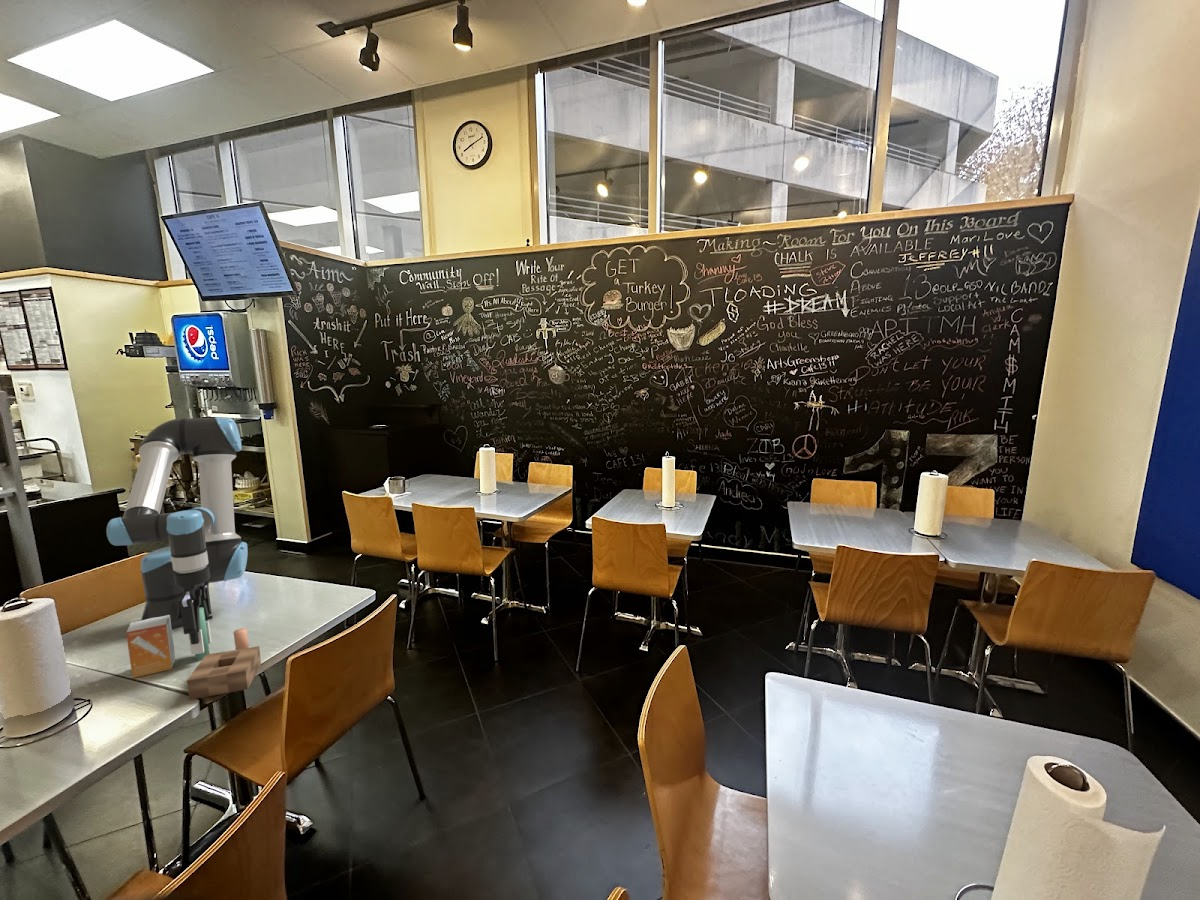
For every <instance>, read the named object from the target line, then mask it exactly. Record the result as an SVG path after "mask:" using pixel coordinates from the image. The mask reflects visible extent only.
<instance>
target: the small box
mask: <svg viewBox="0 0 1200 900" xmlns="http://www.w3.org/2000/svg"><path fill="white" fill-rule="evenodd" d="M172 629H173V628H171V621H170V615H166V616H161V617H156V618H150V619H146V620H141V619H140V620H137V621H131V622H130V624H129V626H128V628H127V630H126V632H125V633H126V643H127V648H128V649H127V650H128V656H129V662H130V664H129V665H130V670H131V677H132V679H136V678H139V677H143V676H146V675H147V676H148V675H152V674H155V673H160V672H163V671H169V670H173V666H174V664H175V660H176V651H175V643H174V637H173V630H172Z"/></svg>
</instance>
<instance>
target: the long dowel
mask: <svg viewBox="0 0 1200 900" xmlns="http://www.w3.org/2000/svg"><path fill="white" fill-rule="evenodd" d="M199 623H200V630H201V629H202V636H203V644H204V653H200V654H194V655H195V660H196V661H202V659H203V658H204V656H205V655H207V654H210V648H209V644H208V638H207V631H206V623H205V615H204V608H203V607H199Z"/></svg>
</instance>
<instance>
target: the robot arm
mask: <svg viewBox="0 0 1200 900" xmlns="http://www.w3.org/2000/svg"><path fill="white" fill-rule="evenodd" d="M242 448H243V447H242V439H241V436H240V432H239V428H238V425H237V424H236V422H235V420H234V419H233V418H231V417H219V416H215V417H213V416H212V417H196V418H195V417H193V418H175V419H170V420H168V421H165V422H163V423H161V424H159V425H157V426H156V427H155V428H153V429H152V430H151V431H150V432H149V433H148V434H147V435H146V436H144V438H143V440H142V441H141V443H140V446H139V449H138V456H139V457H140V461H139V462H138V463H139V464H138V467H137V471H136V473H135V477H134V480H133V483H132V487H131V490H130V494H129V497H128V499H127V503H126V506H125V510H124V513H123V516H119V517H115V518H111V519H110V520H109V522H107V526H106V537H107V540H108V541H109V543H110V544H111V545H113V546H116V547H117V546H118V547H119V546H133V545H139V544H146V543H147V544H148V543H155V542H162V541H163V542H165V541H168V542H169V545H168V546H164V547H162V548H161V547H160V548H158V549H154V550H153V551H151V552H149V553H147V554H145V555H144V556H143V557H142V558H141V560H140V573H141V576H142V577H141V578H142V585H143V590H144V591H143V592H144V596H145V597H144V598H145V605H144V608H143V611H142V615H141V619H140V621H141V620H146V619H150V618H156V617H161V616H166V615H170V621H171V628H172V629H175V628H179V627H182V629H183V634H184V635H188V639H189V640H188V641H189V646H190V654H191V656H193V655H195V654H200V653H204V644H203V636H202V629H201V630H200V623H199V607H203V608H204V615H205V623H206V631H207V638H208V645H210V644H211V643H212V635H211V628H210V621H209V620H212V619H213V617H214V616H213V615H212V607H211V598H210V597H211V596H210V590H209V589H210V588H209V584H212V583H219V582H227V581H231V580H236V579H239V578H241V577H242V576H244V574H245V571H246V567H247V562H248V554H249V553H248V543H247V542H244V541H242V537H241V536H240V535H239V534H237V533H236V527H235V508H234V506H235V505H234V490H233V472H232V462H233V460H235V459H236V458H237V452H240V451H242ZM189 454H191V455H192V460H194V461H195V462H197V464H198V474H199V490H200V491H199V493H200V494H199V495H200V506H198V507H194V508H193V507H192V508H191V509H187V510H180V511H176V512H167V513H165V512H164V513H161V511H162V510H161V509H162V506H163V503H164V498H165V495H166V492H167V488H168V487H167V486H168V484H169V479H170V474H171V471H172V468H173V464H174V462H176V461H177V460H178V458H179V457H180V456H181V455H189Z"/></svg>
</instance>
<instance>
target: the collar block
mask: <svg viewBox="0 0 1200 900" xmlns="http://www.w3.org/2000/svg"><path fill="white" fill-rule="evenodd" d="M261 664H262V662H261V652H260V646H253V647H249V648H245V649H239V650H236V649H234V650H227V651H222V652H215V653H209V654H207V655H205V656H204V658H203V659H202V660H200V662H199V663H198V665H197V666H196V667H195V669H194V670H193V671H192V673H191V675H190V676H189V677H188V678H187V680H186V685H187V691H188V693H187V694H188V699H189V700H194V699H201V698H205V697H212V696H216V695H222V694H228V693H234V692H239V691H244V690H248V689H249V688H250V687H251V686H250V685H251V683H252V682H253V680H254V677H255V675H256V673H257V672H258V670H259V668H260V667H261Z"/></svg>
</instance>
